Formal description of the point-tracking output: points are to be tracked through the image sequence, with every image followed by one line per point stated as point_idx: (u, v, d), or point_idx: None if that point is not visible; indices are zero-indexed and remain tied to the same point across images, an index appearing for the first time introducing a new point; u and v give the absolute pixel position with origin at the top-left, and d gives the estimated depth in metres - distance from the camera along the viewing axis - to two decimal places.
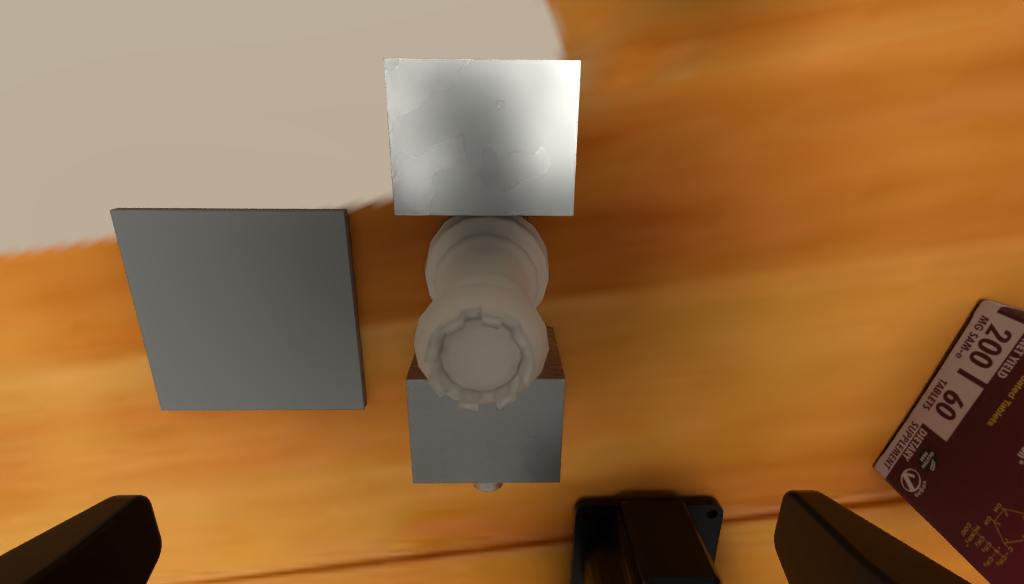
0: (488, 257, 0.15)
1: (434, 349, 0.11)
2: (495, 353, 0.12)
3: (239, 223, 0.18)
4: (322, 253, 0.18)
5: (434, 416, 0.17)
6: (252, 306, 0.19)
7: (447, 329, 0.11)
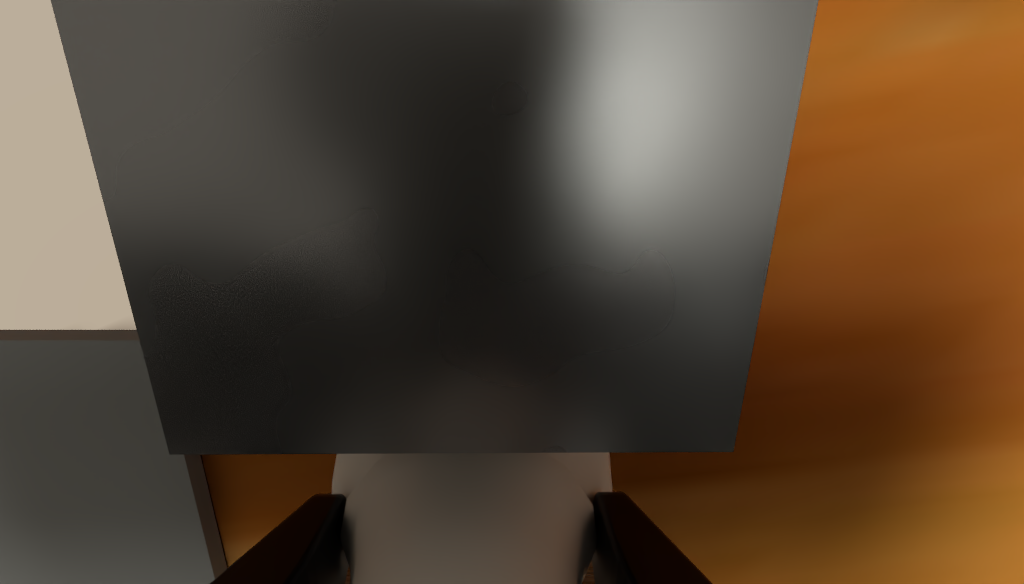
0: (469, 544, 0.05)
1: None
2: None
3: None
4: (120, 423, 0.09)
5: None
6: None
7: None
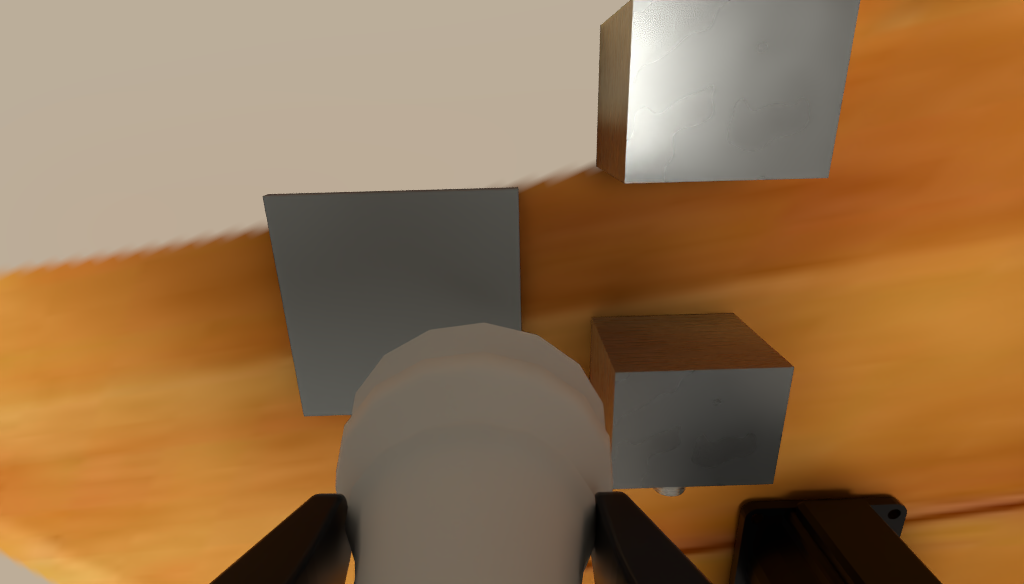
0: (474, 531, 0.05)
1: None
2: None
3: (403, 206, 0.16)
4: (491, 237, 0.17)
5: (642, 413, 0.15)
6: (410, 298, 0.17)
7: None
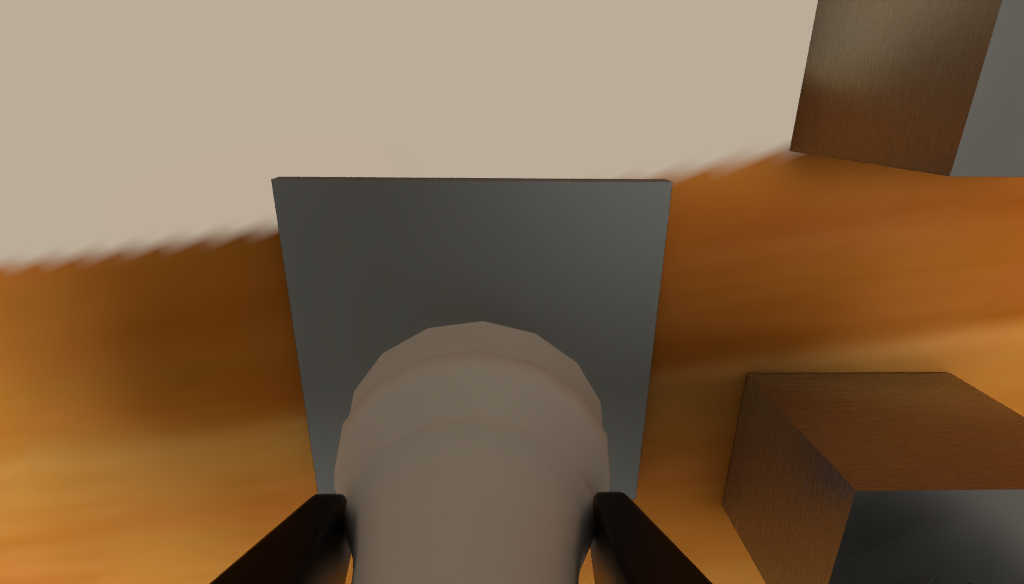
0: (470, 528, 0.05)
1: None
2: None
3: (491, 203, 0.10)
4: (621, 254, 0.11)
5: (884, 551, 0.09)
6: None
7: None
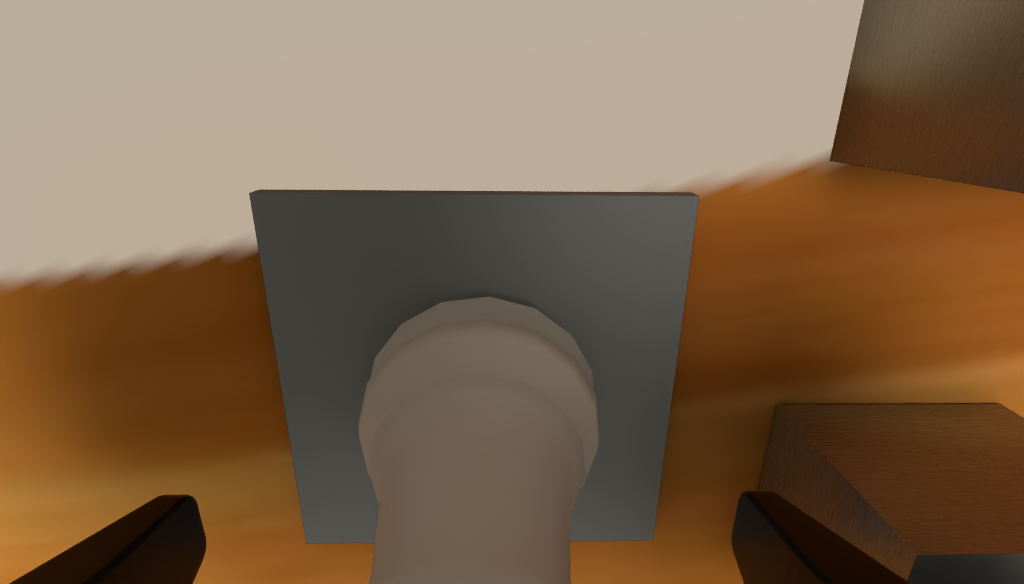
0: (482, 455, 0.06)
1: None
2: None
3: (495, 219, 0.09)
4: (640, 276, 0.10)
5: None
6: None
7: None
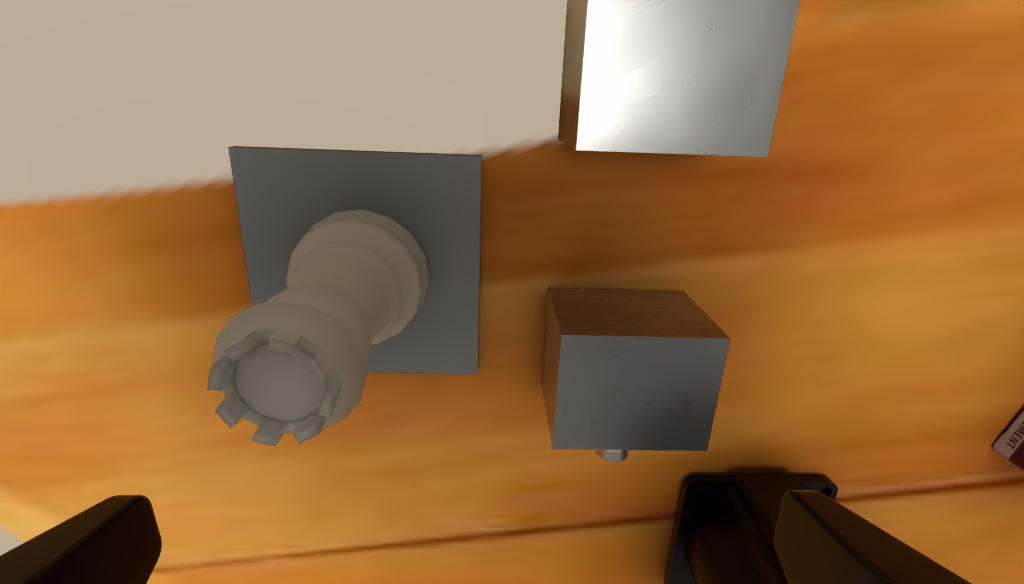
0: (334, 268, 0.14)
1: (218, 375, 0.10)
2: (294, 380, 0.11)
3: (367, 166, 0.17)
4: (453, 202, 0.17)
5: (586, 376, 0.15)
6: None
7: (230, 354, 0.10)
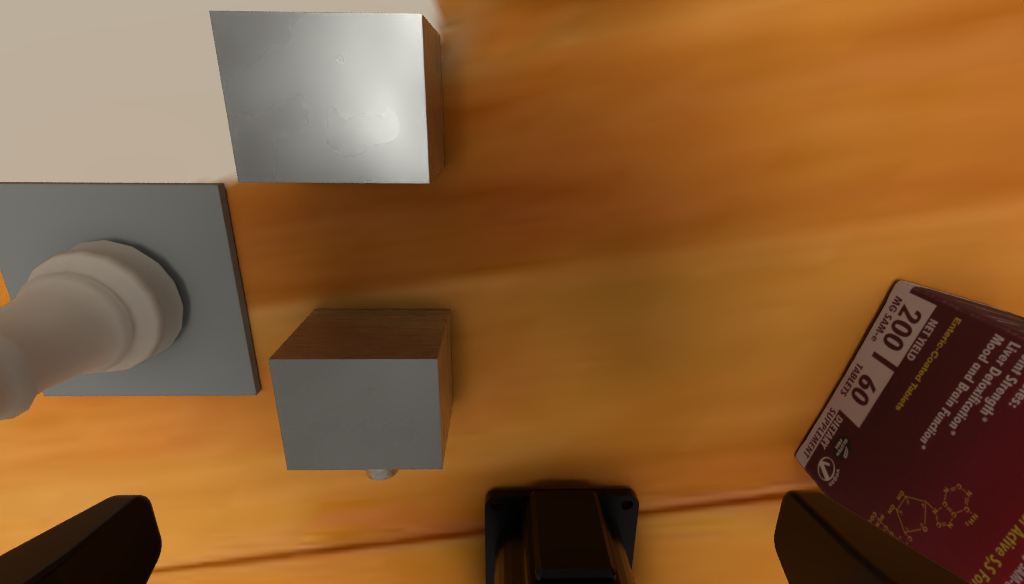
0: (26, 301, 0.14)
1: None
2: None
3: (108, 198, 0.17)
4: (199, 230, 0.17)
5: (303, 398, 0.16)
6: None
7: None
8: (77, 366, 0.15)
